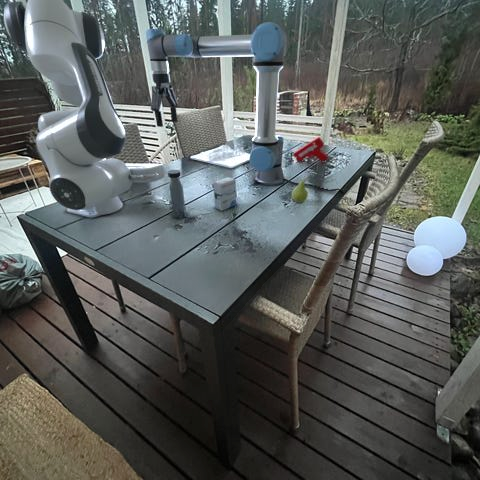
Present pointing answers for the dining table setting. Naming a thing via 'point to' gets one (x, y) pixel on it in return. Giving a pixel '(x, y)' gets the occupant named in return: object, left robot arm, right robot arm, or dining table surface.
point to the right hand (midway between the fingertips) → (167, 124)
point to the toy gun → (312, 151)
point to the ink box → (225, 193)
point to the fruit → (300, 192)
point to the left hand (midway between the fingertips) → (139, 167)
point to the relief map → (223, 156)
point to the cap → (174, 173)
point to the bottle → (177, 197)
